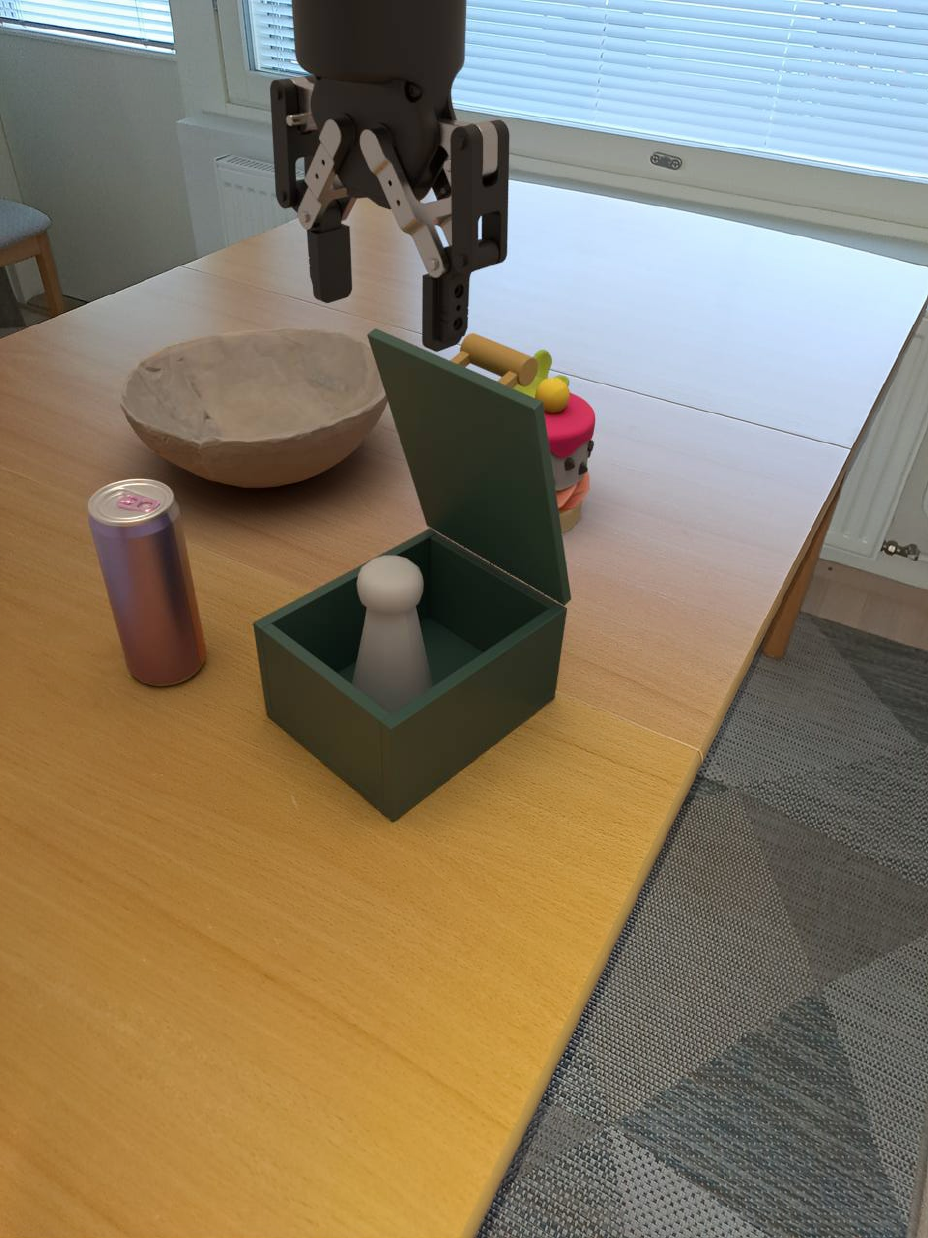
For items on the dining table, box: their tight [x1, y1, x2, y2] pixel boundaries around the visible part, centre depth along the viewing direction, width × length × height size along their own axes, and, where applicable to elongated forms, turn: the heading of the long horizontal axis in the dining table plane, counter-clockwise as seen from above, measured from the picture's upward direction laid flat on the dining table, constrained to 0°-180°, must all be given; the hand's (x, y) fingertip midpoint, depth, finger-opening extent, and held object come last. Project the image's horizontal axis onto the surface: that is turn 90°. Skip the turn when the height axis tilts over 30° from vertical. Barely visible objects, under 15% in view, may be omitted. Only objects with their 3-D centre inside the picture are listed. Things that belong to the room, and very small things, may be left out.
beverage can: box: [87, 478, 207, 687], centre depth 66 cm, size 6×6×15 cm
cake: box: [513, 349, 596, 534], centre depth 85 cm, size 10×10×15 cm
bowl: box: [118, 326, 388, 489], centre depth 92 cm, size 26×26×10 cm
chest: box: [252, 527, 568, 823], centre depth 66 cm, size 17×14×9 cm
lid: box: [366, 327, 572, 607], centre depth 61 cm, size 18×14×5 cm
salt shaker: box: [352, 556, 433, 715], centre depth 63 cm, size 6×6×13 cm
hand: (385, 321), depth 48 cm, fingers open, 8 cm apart
